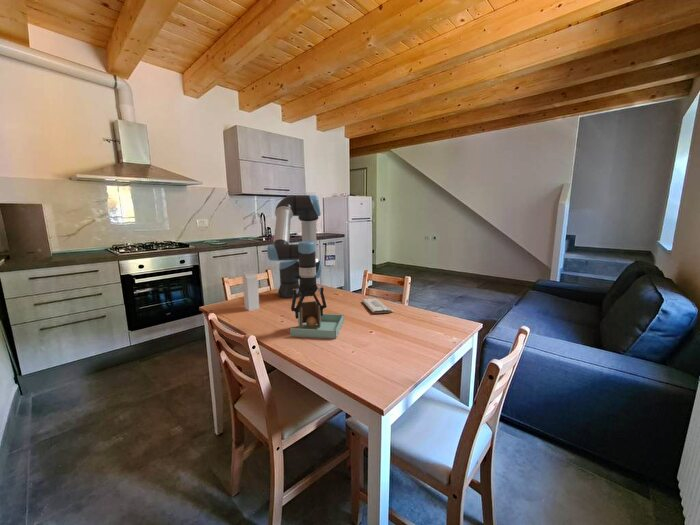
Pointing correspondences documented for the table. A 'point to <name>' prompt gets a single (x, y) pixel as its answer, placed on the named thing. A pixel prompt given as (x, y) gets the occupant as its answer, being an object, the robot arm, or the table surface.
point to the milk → (250, 290)
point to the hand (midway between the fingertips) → (309, 323)
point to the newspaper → (376, 306)
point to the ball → (311, 321)
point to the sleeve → (309, 313)
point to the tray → (321, 328)
